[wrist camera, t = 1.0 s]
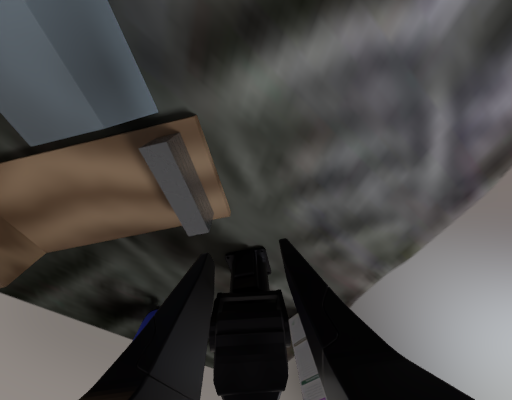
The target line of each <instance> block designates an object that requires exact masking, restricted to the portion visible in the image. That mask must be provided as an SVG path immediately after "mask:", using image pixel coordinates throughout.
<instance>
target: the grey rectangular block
mask: <svg viewBox="0 0 512 400" xmlns="http://www.w3.org/2000/svg"><path fill="white" fill-rule="evenodd" d="M138 149H139V150H140V152H141V154H142V156H143V157H144V159H145V161H146V163H147V165H148V166H149V168H150V170H151V172H152V173H153V175H154V177H155V179H156V180H157V182H158V184H159V186H160V187H161V189H162V191H163V193H164V194H165V196H166V198H167V200H168V201H169V203H170V205H171V207H172V208H173V210H174V212H175V214H176V215H177V217H178V219H179V221H180V222H181V224H182V226H183V228H184V229H185V231H186V233H187V235H188V236H193V235H198V234H204V233H209V232H210V227H211V223H212V219H213V215H214V212H213V210H212V207H211V205H210V203H209V200H208V198H207V196H206V193H205V191H204V188H203V186H202V184H201V181H200V179H199V177H198V174H197V172H196V170H195V167H194V165H193V162H192V160H191V158H190V155H189V153H188V151H187V148H186V146H185V143H184V141H183V139H182V136H181V134H180V132H179V133H175V134H171V135H166V136H162V137H158V138H155V139H154V140H152V141H150V142H149V143H147V144H145V145H143V146H142V147H140V148H138Z"/></svg>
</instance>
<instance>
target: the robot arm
mask: <svg viewBox="0 0 512 400" xmlns="http://www.w3.org/2000/svg"><path fill="white" fill-rule="evenodd" d="M279 244H280V249H281V254H282V259H283V263H284V268H285V273H286V278H287V282H288V285H289V288H290V291H291V294H292V297H293V300H294V303H295V306H296V309H297V312H298V314H299V317H300V320H301V323H302V326H303V329H304V332H305V335H306V338H307V341H308V344H309V347H310V350H311V353H312V356H313V359H314V362H315V365H316V368H317V371H318V374H319V377H320V380H321V383H322V385H323V387H324V391H325V394H326V397H327V400H475V399H473V398H471V397H470V396H468V395H466V394H465V393H463V392H461V391H460V390H458V389H456V388H455V387H453V386H451V385H450V384H448V383H446V382H445V381H443V380H441V379H439V378H438V377H436V376H434V375H433V374H431V373H429V372H428V371H426V370H424V369H422V368H421V367H419V366H418V365H416V364H414V363H413V362H411V361H409V360H408V359H406V358H405V357H403V356H402V355H400V354H399V353H398V352H397V351H395V350H394V349H393V348H392V347H390V346H389V345H388V344H387V343H386V342H385V341H384V340H383V339H382V338H380V337H379V336H378V335H377V334H376V333H375V332H374V331H373V330H372V329H371V328H370V327H368V325H366V324H365V323H364V322H363V321H362V320H361V319H360V318H359V317H358V316H357V315H356V314H355V313H354V312H353V311H352V310H350V309H349V308H348V307H347V306H346V305H345V304H344V303H343V302H342V300H341V299H340V298H339V297H338V296H337V295H336V294H335V293H334V292H333V291H332V289H331V288H330V287H328V285H327V284H326V283H325V282H324V280H323V279H322V278H321V277H320V276H319V275H318V274H317V273H316V271H315V270H314V269H313V268H312V267H311V266H310V265H309V263H308V262H307V261H306V260H305V259H304V258H303V257H302V255H301V254H300V253H299V252H298V251H297V250H296V249H295V247H294V246H293V245H292V244H291V243H290V242H289V241H288V240H287V239H286V238H284V239H280V240H279ZM262 250H263V251H262ZM225 259H226V261H227V263H228V266H229V268H230V270H231V282H230V293H218V294H217V298H216V299H215V301H214V307H213V311H212V305H213V298H214V275H215V264H214V261H213V259H212V257H211V255H210V254H209V253H204V254H201V255H200V256H199V258H198V259H197V260H196V261H195V263H194V264H193V265H192V267H191V268H190V269H189V270H188V272H187V273H186V274H185V276H184V277H183V278H182V279H181V281H180V282H179V283H178V285H177V286H176V287H175V289H174V290H173V291H172V292H171V294H170V295H169V296H168V298H167V299H166V300H165V301H164V303H163V304H162V305H161V307H160V308H159V309H158V310H157V312H156V313H155V315H154V316H153V317H152V318H151V319H150V321H149V322H148V323H147V325H146V326H145V327H144V328H143V329H142V331H141V332H140V333H139V334H138V336H137V337H136V338H135V339H134V340H133V342H132V343H131V344H130V345H129V346H128V348H127V349H126V350H125V351H124V352H123V353H122V354H121V355H120V357H119V358H118V359H117V360H116V361H115V362H114V364H113V365H112V366H111V367H110V368H109V369H108V370H107V371H106V372H105V374H104V375H103V376H102V377H101V378H100V379H99V380H98V382H97V383H96V384H95V385H94V386H93V387H92V388H91V389H90V390H89V391H88V392H87V393H86V394H85V395H84V396H82V397H81V398H80V399H79V400H200V396H201V387H202V381H203V372H204V366H205V358H206V350H207V343H208V338H209V343H210V351H211V352H214V379H213V381H214V385H215V389H216V392H217V395H218V396H221V397H222V399H223V400H279V398H280V395H281V392H282V391H284V390H285V387H286V383H287V379H288V361H287V351H286V347H290V344H291V336H290V326H289V320H288V315H287V311H286V307H285V303H284V299H283V296H282V292H281V290H276V291H270V290H269V282H268V275H269V274H271V268H270V265H269V261H268V257H267V253H266V249H265V248H264V247H261V248H255V249H250V250H244V251H239V252H234V253H228V254H226V255H225ZM211 313H212V315H211Z"/></svg>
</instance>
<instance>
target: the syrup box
mask: <svg viewBox="0 0 512 400" xmlns="http://www.w3.org/2000/svg"><path fill="white" fill-rule="evenodd" d="M289 326H290V333H291V338H292V343H293V348H294V353H295V359H296V364H297V369H298V375H299V380H300V385H301V391H302V396H303V400H327V397H326V394H325V391H324V387H323V385H322V383H321V380H320V377H319V374H318V371H317V368H316V365H315V362H314V359H313V356H312V353H311V350H310V347H309V344H308V341H307V338H306V335H305V332H304V329H303V326H302V323H301V320H300V317H299V314H298V313H297V314H296V315H294V316H293V317H291V318H290V319H289Z"/></svg>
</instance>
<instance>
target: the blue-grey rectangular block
mask: <svg viewBox="0 0 512 400" xmlns="http://www.w3.org/2000/svg"><path fill="white" fill-rule="evenodd" d="M0 113H1V114H2V115H3V116H4V117H5V118H6V119H7V120H8V122H9V123H10V124H11V125H12V126H13V127H14V128H15V129H16V131H17V132H18V133H19V134H20V135H21V136H22V137H23V138H24V140H25V141H26V142H27V143H28V144H29V145H30V146H31V147H32V146H36V145H40V144H44V143H48V142H52V141H56V140H60V139H64V138H69V137H73V136H77V135H81V134H85V133H89V132H93V131H97V130H101V129H105V128H108V127H112V126H115V125H118V124H122V123H125V122H128V121H131V120H135V119H138V118H141V117H145V116H148V115H151V114H155V113H158V110H157V108H156V105H155V103H154V101H153V99H152V97H151V94H150V92H149V90H148V88H147V86H146V83H145V81H144V79H143V77H142V75H141V73H140V70H139V68H138V66H137V64H136V62H135V59H134V57H133V55H132V53H131V51H130V48H129V46H128V44H127V42H126V40H125V38H124V35H123V33H122V31H121V29H120V27H119V24H118V22H117V20H116V18H115V16H114V13H113V11H112V9H111V7H110V5H109V2H108V0H0Z"/></svg>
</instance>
